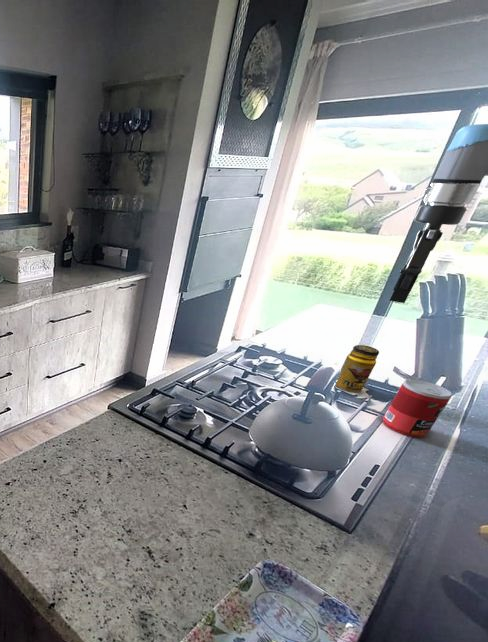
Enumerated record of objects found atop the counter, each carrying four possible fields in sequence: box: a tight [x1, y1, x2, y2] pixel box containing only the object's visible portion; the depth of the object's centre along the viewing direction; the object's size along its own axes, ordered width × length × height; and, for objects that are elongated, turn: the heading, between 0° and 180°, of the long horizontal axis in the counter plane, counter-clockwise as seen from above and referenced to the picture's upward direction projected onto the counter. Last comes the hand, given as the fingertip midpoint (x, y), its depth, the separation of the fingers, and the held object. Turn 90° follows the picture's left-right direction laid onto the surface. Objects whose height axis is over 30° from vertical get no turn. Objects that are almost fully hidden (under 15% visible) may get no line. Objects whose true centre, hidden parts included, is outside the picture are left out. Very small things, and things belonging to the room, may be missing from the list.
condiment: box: [335, 344, 380, 396], centre depth 110 cm, size 7×8×12 cm
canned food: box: [382, 378, 453, 438], centre depth 92 cm, size 8×8×11 cm
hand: (398, 296), depth 101 cm, fingers open, 13 cm apart
